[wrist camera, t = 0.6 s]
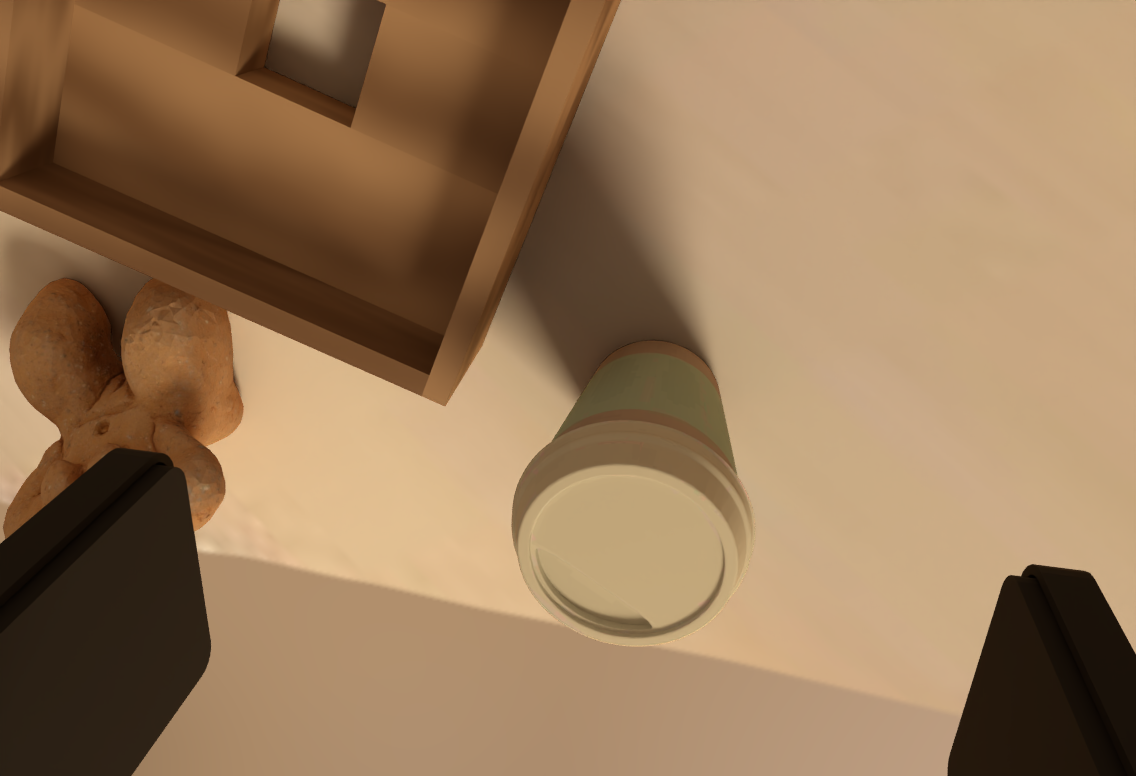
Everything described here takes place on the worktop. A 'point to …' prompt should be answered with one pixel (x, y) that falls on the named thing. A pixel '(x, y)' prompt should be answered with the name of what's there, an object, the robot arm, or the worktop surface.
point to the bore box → (300, 161)
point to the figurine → (126, 388)
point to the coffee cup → (636, 503)
